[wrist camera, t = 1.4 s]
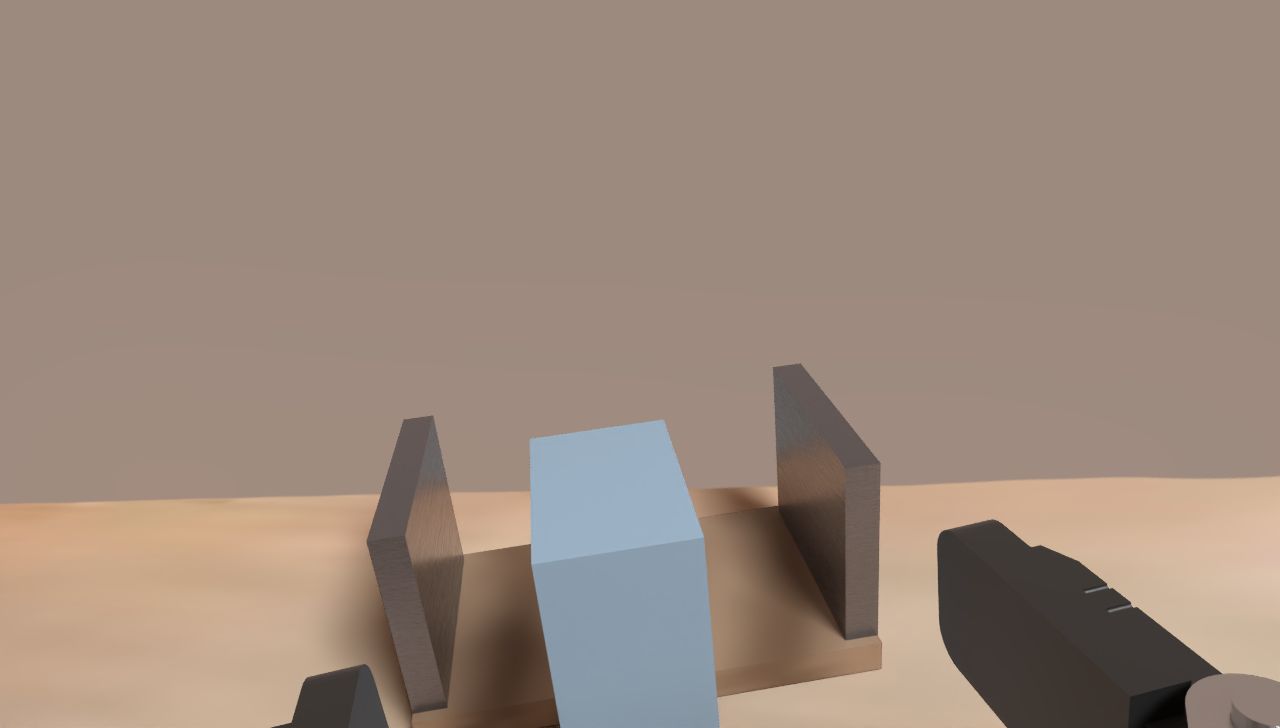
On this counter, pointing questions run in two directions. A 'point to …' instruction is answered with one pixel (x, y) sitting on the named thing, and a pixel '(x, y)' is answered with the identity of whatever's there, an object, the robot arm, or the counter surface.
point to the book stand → (740, 620)
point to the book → (621, 581)
